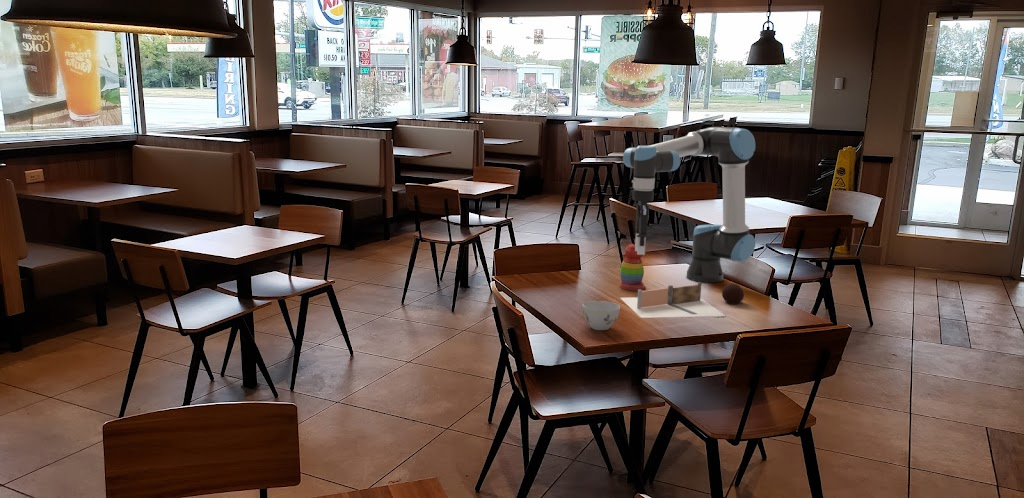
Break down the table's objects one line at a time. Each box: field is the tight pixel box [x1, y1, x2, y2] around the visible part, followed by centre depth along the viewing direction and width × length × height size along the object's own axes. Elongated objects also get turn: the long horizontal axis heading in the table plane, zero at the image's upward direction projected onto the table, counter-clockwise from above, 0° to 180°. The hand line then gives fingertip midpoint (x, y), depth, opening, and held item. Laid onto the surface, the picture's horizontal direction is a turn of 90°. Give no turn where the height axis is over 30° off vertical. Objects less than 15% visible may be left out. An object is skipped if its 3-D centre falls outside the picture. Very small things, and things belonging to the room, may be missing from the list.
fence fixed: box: [667, 281, 703, 305], centre depth 284 cm, size 16×2×7 cm, turn 118°
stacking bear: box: [619, 242, 647, 292], centre depth 305 cm, size 11×10×18 cm
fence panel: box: [637, 287, 668, 308], centre depth 277 cm, size 13×1×7 cm, turn 118°
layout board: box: [620, 296, 727, 319], centre depth 279 cm, size 31×26×1 cm
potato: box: [721, 283, 745, 305], centre depth 286 cm, size 8×9×8 cm
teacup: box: [581, 300, 621, 331], centre depth 254 cm, size 15×12×8 cm
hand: (639, 252), depth 278 cm, fingers open, 5 cm apart
